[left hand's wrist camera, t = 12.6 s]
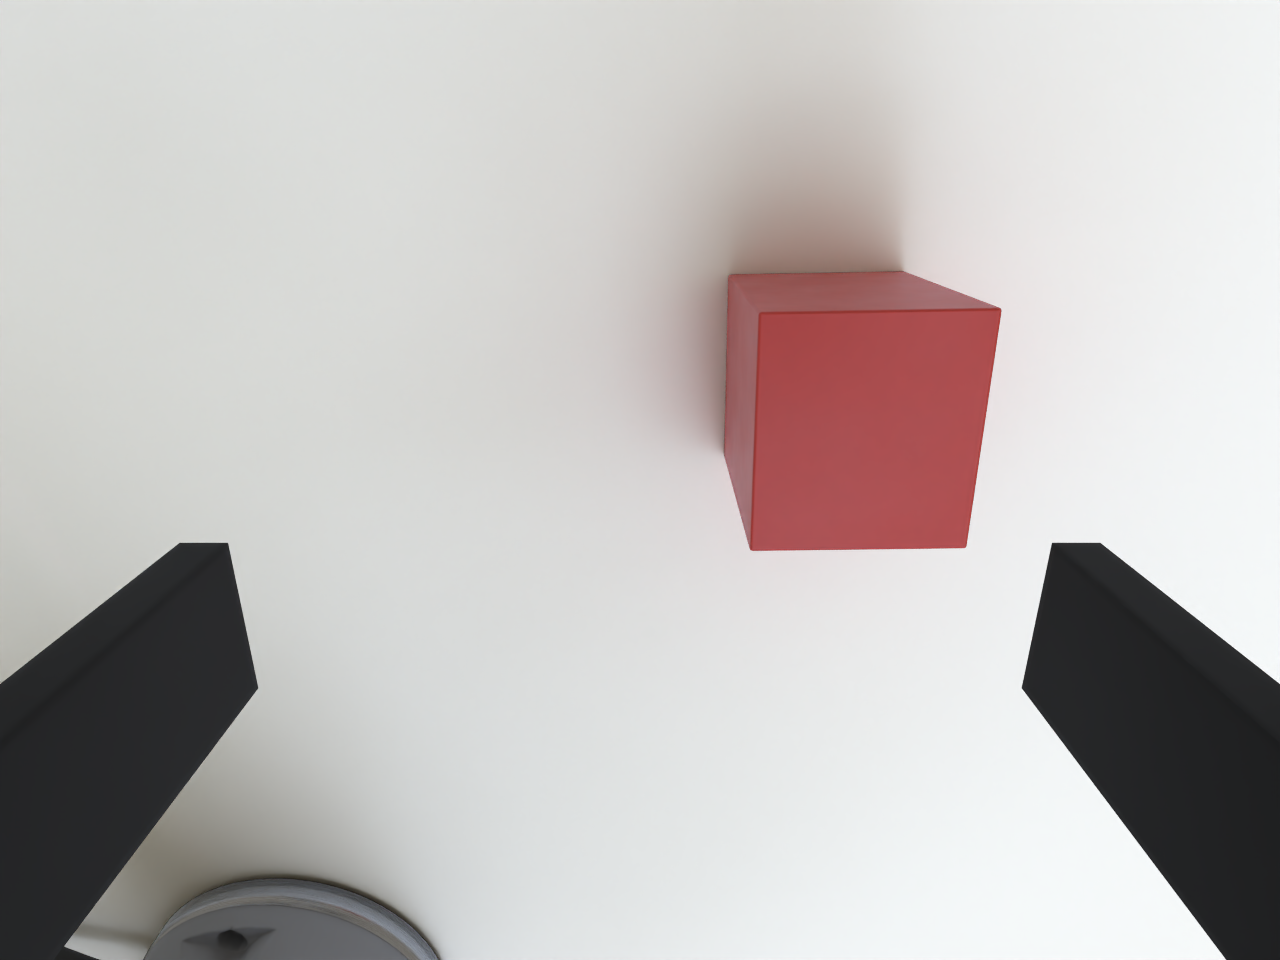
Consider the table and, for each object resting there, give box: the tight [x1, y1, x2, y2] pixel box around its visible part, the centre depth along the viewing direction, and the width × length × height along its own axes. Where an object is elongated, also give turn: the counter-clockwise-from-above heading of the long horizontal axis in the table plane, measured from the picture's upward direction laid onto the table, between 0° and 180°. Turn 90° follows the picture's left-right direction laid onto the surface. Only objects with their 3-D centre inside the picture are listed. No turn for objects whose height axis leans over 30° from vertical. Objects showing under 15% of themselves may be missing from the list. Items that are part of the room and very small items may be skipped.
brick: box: [724, 271, 1001, 551], centre depth 25 cm, size 7×6×8 cm
